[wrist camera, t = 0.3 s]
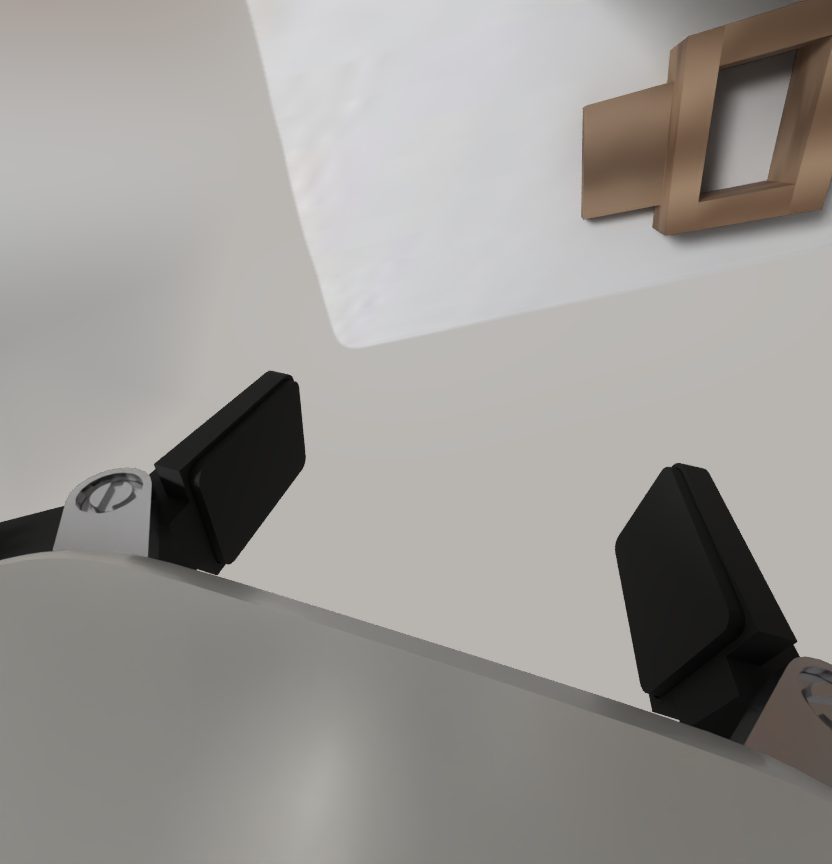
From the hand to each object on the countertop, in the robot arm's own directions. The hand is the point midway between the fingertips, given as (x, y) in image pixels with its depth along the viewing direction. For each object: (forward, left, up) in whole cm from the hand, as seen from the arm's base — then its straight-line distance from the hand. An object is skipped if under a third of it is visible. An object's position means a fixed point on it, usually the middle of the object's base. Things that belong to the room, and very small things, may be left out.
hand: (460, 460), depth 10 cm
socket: (-9, +15, -36) cm, 40 cm away
